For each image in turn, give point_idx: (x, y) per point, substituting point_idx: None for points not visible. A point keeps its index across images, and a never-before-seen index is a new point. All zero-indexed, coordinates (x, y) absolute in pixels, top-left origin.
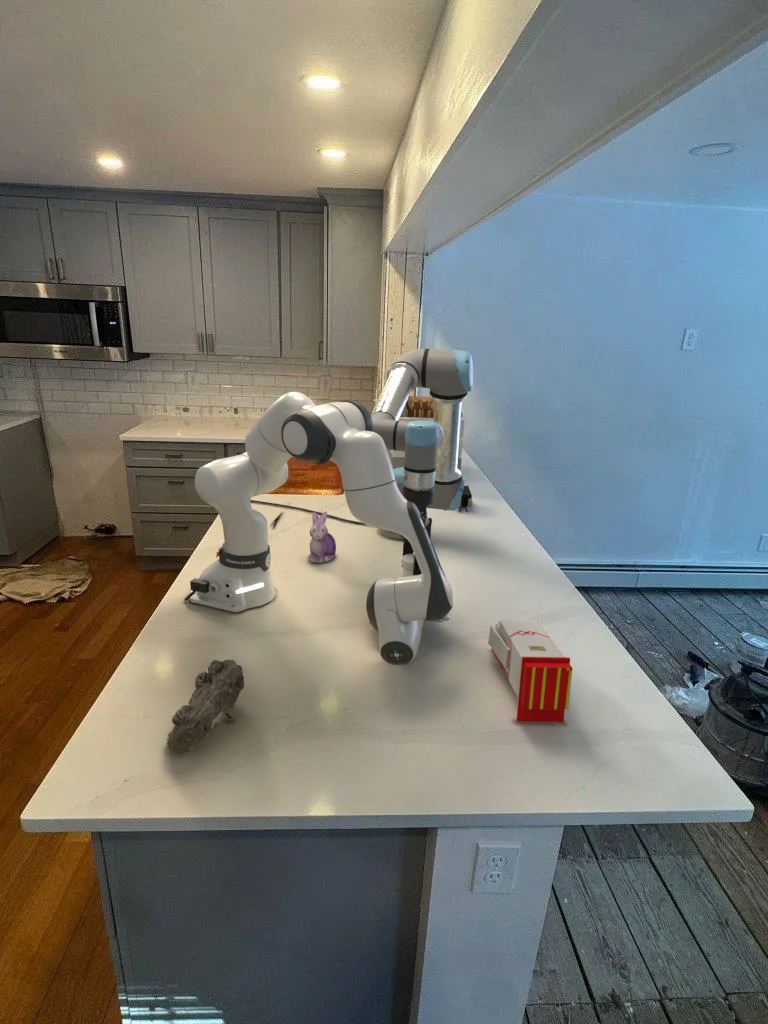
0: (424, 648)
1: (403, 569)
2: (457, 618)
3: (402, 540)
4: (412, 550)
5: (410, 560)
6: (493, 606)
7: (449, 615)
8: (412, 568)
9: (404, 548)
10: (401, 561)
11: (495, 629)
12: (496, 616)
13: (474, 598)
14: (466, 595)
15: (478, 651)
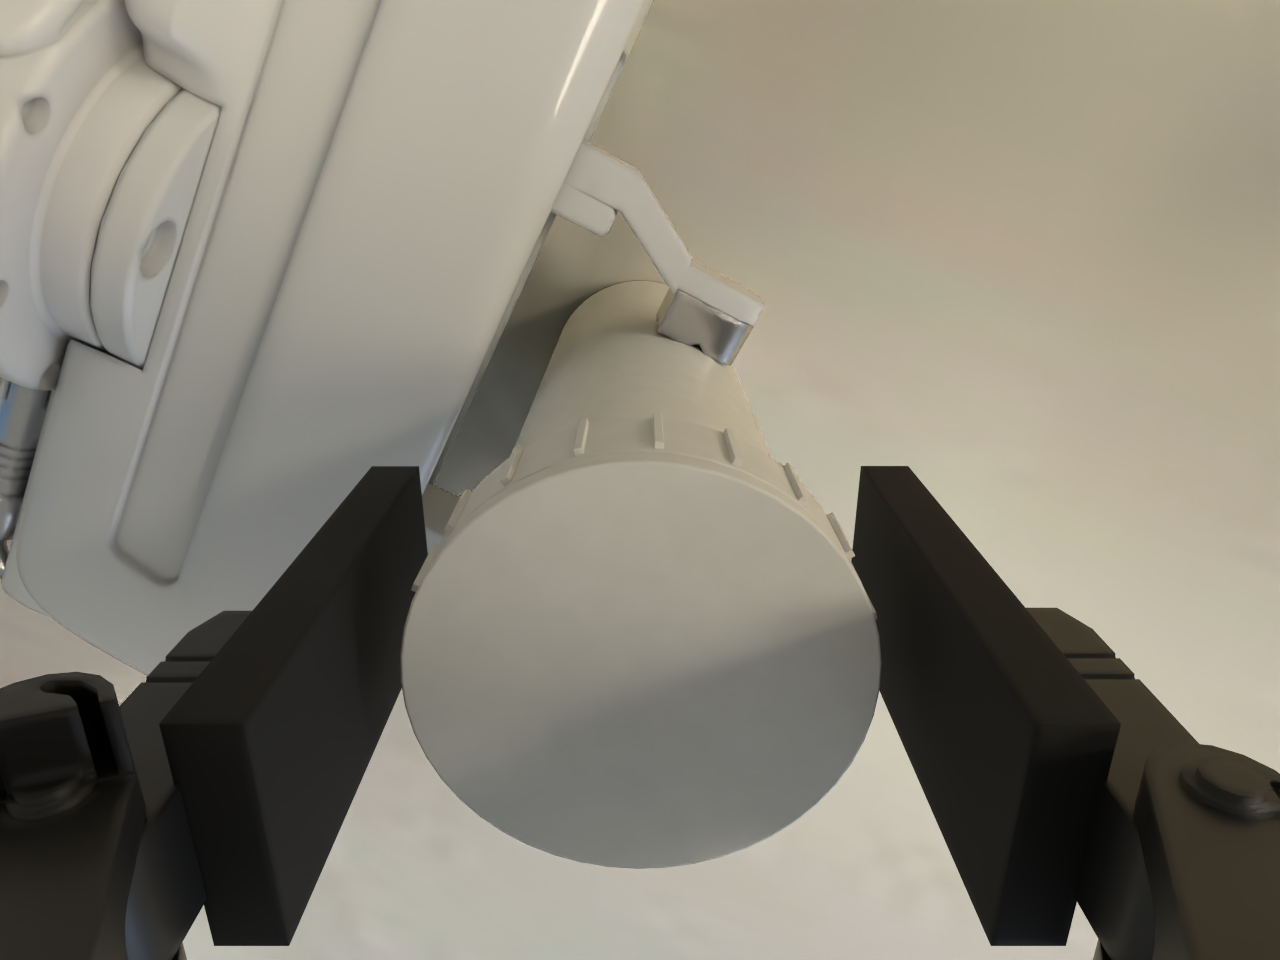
0: None
1: None
2: None
3: (1229, 763)
4: (932, 786)
5: (560, 600)
6: (599, 949)
7: (45, 614)
8: (436, 545)
9: (987, 664)
10: (727, 442)
11: None
12: (470, 915)
13: (737, 892)
14: (795, 864)
15: (46, 646)
